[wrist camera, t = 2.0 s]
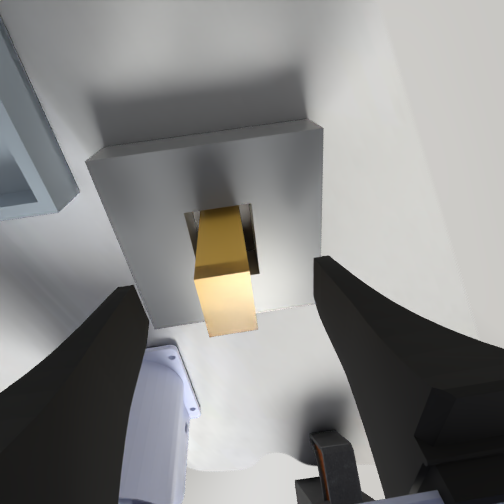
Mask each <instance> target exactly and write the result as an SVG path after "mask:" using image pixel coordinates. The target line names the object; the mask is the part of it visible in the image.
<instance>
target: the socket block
mask: <svg viewBox="0 0 504 504" xmlns="http://www.w3.org/2000/svg"><path fill="white" fill-rule="evenodd" d="M85 163H86V165H87V168H88V170H89V173H90V175H91V177H92V180H93V182H94V185H95V187H96V189H97V192H98V194H99V197H100V199H101V201H102V204H103V206H104V209H105V211H106V213H107V216H108V218H109V221H110V223H111V225H112V228H113V230H114V233H115V235H116V237H117V240H118V242H119V244H120V247H121V249H122V252H123V254H124V256H125V259H126V261H127V264H128V266H129V268H130V271H131V273H132V276H133V278H134V280H135V283H136V285H137V288H138V290H139V292H140V295H141V297H142V300H143V302H144V304H145V307H146V309H147V312H148V314H149V316H150V319H151V321H152V324H153V326H154V328H155V329H160V328H166V327H173V326H179V325H185V324H192V323H198V322H204V321H205V319H204V315H203V312H202V308H201V304H200V301H199V297H198V294H197V290H196V286H195V283H194V271H195V261H196V250H197V240H198V234H197V229H196V225H195V221H194V217H193V213H192V212H195V211H202V210H208V209H215V208H222V207H229V206H236V205H242V204H249V209H250V216H251V224H252V232H253V240H254V248H255V250H250V251H246V253H247V259H248V264H249V270H250V277H251V284H252V291H253V298H254V305H255V312H256V313H262V312H268V311H274V310H281V309H287V308H293V307H300V306H306V305H312V304H316V303H315V300H314V297H313V263H314V258H316V257H321V227H322V175H323V128H322V127H321V126H319V125H317V124H316V123H314V122H313V121H311V120H309V119H302V120H295V121H288V122H280V123H273V124H266V125H259V126H252V127H244V128H237V129H230V130H223V131H216V132H208V133H201V134H194V135H187V136H180V137H173V138H165V139H158V140H151V141H144V142H137V143H129V144H122V145H115V146H108V147H103V148H102V149H101V150H99V151H98V152H97V153H95V154H94V155H93V156H91V157H90V158H89V159H88V160H86V161H85Z"/></svg>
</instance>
